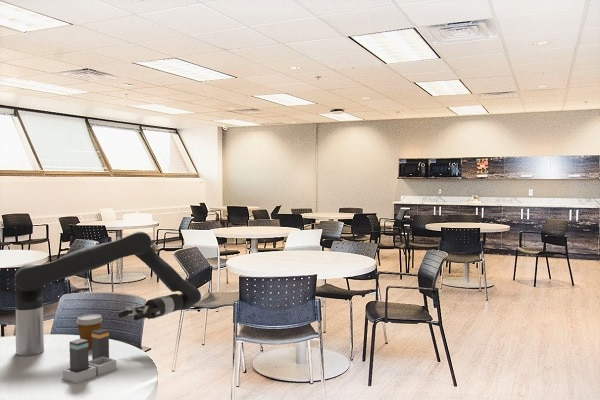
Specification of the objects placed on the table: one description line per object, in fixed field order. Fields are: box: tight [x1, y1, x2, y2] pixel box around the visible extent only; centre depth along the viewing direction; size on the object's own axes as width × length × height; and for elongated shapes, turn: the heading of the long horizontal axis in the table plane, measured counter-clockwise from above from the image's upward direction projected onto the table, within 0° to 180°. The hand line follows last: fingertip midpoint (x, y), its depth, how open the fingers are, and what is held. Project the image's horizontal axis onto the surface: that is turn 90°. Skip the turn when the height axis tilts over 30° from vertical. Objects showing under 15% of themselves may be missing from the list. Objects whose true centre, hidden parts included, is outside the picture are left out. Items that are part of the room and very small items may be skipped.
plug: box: [91, 328, 110, 360], centre depth 189 cm, size 4×4×12 cm
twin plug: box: [68, 338, 90, 373], centre depth 173 cm, size 4×4×12 cm
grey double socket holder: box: [61, 357, 118, 385], centre depth 177 cm, size 8×16×4 cm, turn 147°
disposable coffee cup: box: [76, 313, 103, 351], centre depth 208 cm, size 10×10×12 cm
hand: (126, 316), depth 198 cm, fingers open, 8 cm apart
